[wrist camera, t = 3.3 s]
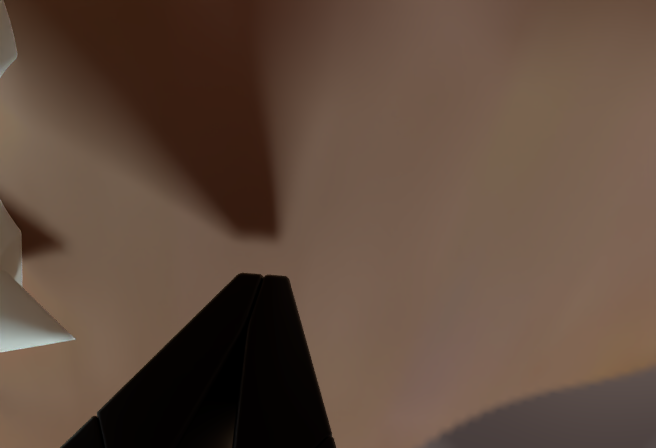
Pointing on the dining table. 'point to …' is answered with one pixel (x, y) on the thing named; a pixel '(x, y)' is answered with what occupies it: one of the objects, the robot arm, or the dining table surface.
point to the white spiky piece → (18, 258)
